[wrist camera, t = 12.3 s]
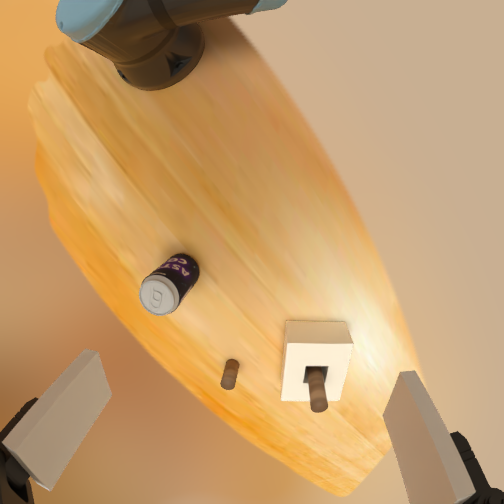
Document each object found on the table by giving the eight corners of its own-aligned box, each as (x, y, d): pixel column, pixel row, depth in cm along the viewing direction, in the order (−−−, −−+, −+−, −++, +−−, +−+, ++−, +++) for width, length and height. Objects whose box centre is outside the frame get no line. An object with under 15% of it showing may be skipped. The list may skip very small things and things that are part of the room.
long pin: (305, 346, 48) (312, 401, 35) (319, 346, 48) (329, 400, 34) (304, 357, 49) (309, 412, 35) (317, 357, 49) (326, 412, 35)
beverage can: (205, 260, 46) (181, 288, 34) (195, 290, 47) (171, 325, 35) (172, 247, 45) (140, 270, 34) (164, 277, 47) (132, 307, 35)
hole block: (286, 320, 47) (287, 342, 40) (344, 321, 46) (353, 343, 40) (280, 375, 50) (280, 400, 43) (333, 376, 49) (339, 400, 43)
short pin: (226, 358, 50) (220, 378, 44) (239, 359, 50) (234, 380, 44) (226, 368, 51) (220, 389, 45) (239, 369, 50) (234, 390, 45)
